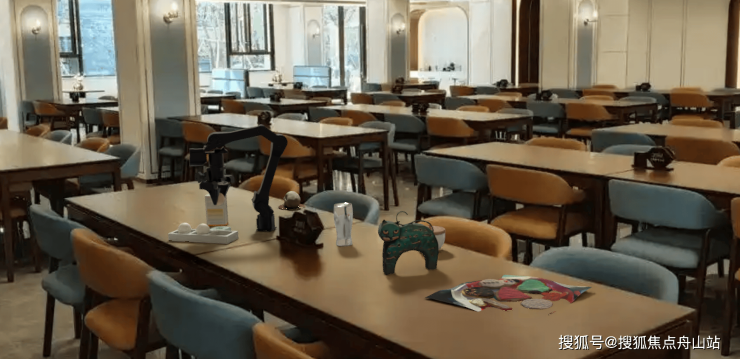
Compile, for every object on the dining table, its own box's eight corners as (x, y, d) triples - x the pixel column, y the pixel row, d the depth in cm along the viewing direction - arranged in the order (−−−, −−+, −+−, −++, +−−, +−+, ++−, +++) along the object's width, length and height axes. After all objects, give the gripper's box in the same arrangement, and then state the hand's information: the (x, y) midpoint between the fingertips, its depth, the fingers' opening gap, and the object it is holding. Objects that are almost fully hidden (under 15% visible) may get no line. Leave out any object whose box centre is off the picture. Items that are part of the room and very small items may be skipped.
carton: (238, 238, 314) (237, 222, 313) (227, 243, 305) (226, 227, 304) (180, 235, 321) (179, 219, 320) (168, 240, 313) (167, 224, 312)
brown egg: (227, 204, 323) (226, 191, 322) (221, 206, 318) (220, 193, 317) (215, 203, 324) (215, 191, 323) (209, 206, 319) (208, 193, 319)
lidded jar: (443, 254, 281) (443, 228, 280) (413, 253, 284) (412, 227, 282) (447, 247, 292) (446, 221, 290) (417, 246, 294) (417, 221, 292)
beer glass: (351, 247, 295) (350, 206, 293) (332, 246, 297) (331, 206, 294) (355, 242, 302) (354, 202, 300) (337, 242, 303) (336, 202, 301)
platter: (491, 273, 259) (491, 268, 258) (593, 294, 236) (593, 287, 235) (424, 300, 233) (424, 294, 233) (531, 326, 210) (531, 319, 210)
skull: (272, 204, 373) (285, 187, 375) (288, 217, 378) (301, 200, 380) (282, 208, 363) (295, 189, 365) (298, 221, 367) (311, 203, 369)
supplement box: (228, 223, 340) (227, 193, 338) (225, 226, 335) (223, 195, 333) (209, 224, 341) (207, 193, 338) (206, 226, 336) (204, 195, 334)
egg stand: (231, 231, 325) (230, 226, 325) (223, 235, 319) (223, 230, 319) (216, 230, 327) (216, 226, 327) (209, 234, 321) (208, 229, 321)
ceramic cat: (381, 276, 257) (380, 214, 254) (376, 271, 263) (374, 210, 260) (440, 270, 262) (440, 209, 259) (434, 265, 268) (433, 205, 265)
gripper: (209, 160, 330) (211, 198, 332) (185, 167, 312) (188, 207, 315) (234, 161, 326) (236, 199, 329) (211, 168, 309) (214, 208, 311)
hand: (218, 203), depth 321 cm, fingers closed on brown egg, 5 cm apart
